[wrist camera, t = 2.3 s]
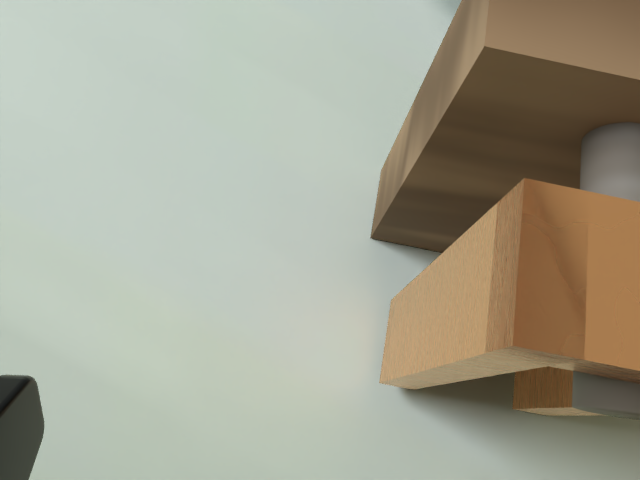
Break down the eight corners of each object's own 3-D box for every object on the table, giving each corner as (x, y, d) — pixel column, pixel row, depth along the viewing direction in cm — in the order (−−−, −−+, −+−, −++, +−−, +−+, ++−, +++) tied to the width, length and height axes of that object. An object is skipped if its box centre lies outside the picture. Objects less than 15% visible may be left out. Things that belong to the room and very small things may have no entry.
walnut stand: (559, 434, 20) (935, 459, 9) (345, 393, 20) (451, 364, 9) (569, 208, 23) (864, 8, 12) (381, 169, 23) (496, -74, 11)
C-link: (545, 415, 20) (866, 415, 9) (379, 383, 19) (512, 345, 9) (549, 331, 21) (844, 244, 10) (391, 299, 20) (524, 178, 10)
